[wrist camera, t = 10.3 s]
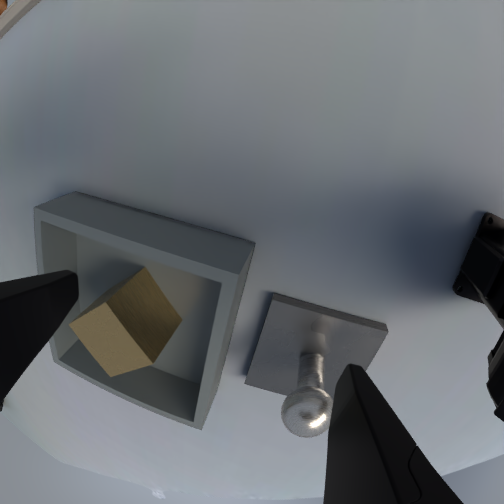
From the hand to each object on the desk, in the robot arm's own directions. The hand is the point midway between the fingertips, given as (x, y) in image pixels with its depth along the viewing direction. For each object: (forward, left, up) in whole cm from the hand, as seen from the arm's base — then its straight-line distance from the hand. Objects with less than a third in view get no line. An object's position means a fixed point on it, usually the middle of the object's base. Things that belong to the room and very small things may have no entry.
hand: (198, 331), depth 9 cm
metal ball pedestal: (-6, +10, -13) cm, 18 cm away
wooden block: (+8, +10, -12) cm, 18 cm away
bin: (+8, +10, -13) cm, 18 cm away
